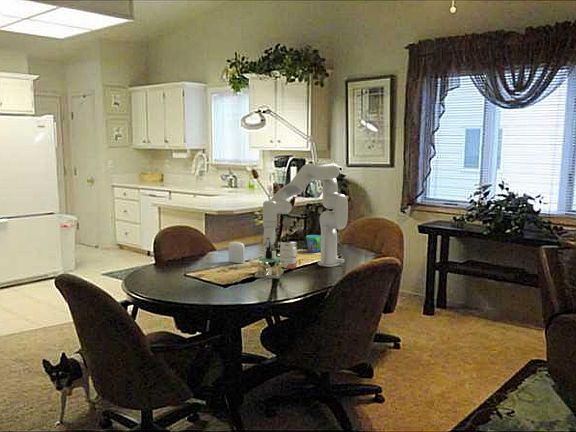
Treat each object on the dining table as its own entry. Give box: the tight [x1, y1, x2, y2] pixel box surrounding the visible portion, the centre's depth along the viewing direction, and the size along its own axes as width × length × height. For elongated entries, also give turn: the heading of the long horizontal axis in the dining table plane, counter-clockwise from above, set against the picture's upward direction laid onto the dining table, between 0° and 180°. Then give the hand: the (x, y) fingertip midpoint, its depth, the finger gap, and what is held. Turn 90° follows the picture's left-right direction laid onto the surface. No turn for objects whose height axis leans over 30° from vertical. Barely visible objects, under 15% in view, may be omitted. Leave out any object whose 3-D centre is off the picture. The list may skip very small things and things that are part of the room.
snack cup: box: [305, 234, 321, 253], centre depth 366 cm, size 16×10×10 cm
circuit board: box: [258, 250, 280, 263], centre depth 302 cm, size 12×10×5 cm
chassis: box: [254, 260, 285, 279], centre depth 303 cm, size 14×13×7 cm
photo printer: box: [227, 241, 246, 264], centre depth 331 cm, size 10×4×12 cm, turn 61°
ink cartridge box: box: [279, 241, 297, 270], centre depth 320 cm, size 9×5×15 cm, turn 62°
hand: (269, 257), depth 302 cm, fingers closed on circuit board, 4 cm apart
